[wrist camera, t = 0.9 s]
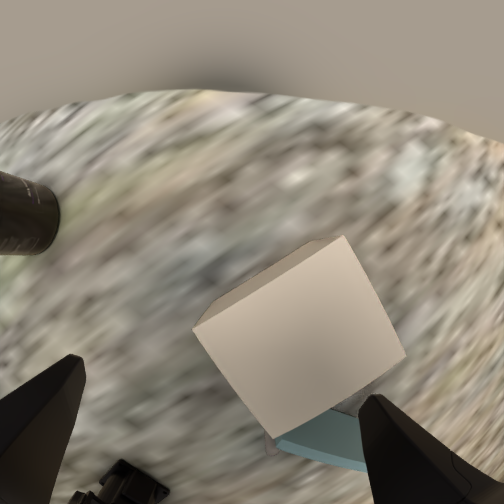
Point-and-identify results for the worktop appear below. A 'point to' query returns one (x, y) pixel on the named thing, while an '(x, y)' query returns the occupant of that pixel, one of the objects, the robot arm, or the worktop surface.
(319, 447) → the flap
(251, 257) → the worktop surface
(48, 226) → the supplement bottle
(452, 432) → the worktop surface
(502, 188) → the worktop surface
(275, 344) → the carton
